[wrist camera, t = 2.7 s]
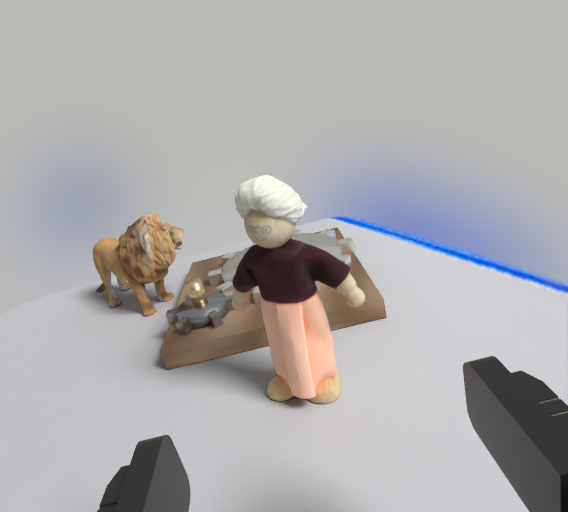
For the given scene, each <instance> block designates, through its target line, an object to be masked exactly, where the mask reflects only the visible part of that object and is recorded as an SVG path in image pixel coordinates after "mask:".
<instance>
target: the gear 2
mask: <svg viewBox="0 0 568 512" xmlns="http://www.w3.org/2000/svg"><path fill="white" fill-rule="evenodd" d="M291 239H294V240H298V241H302V242H304V243H306V244H309V245H312V246H315V247H318V248H320V249H322V250H324V251H327V252H328V253H330V254H331V255H333V256H334V257H336V258H337V259H339V260H340V261H342V262H344V263H345V264H347V265H348V266H349V267H352V263H351V258H350V255H342V254H346V253H350V252H354V251H355V247H354V242H353V240H352V238H351V237H349V238H345V239H341V240H337V239H336V235H335V230H330V229H326V230H324V231H322V232H320V233H318V234H316V233H304V234H301V230H295V231H294V234H293V236H292V237H291ZM252 242H253V241H252ZM253 245H256V244H255V243H254V242H253ZM250 247H252V246H250ZM250 247H248V248H246V249H244V250H242V251H241V252H239V253H228V254H226V255H225V256H223V257H222V262H223V265H224V266H223V267H222V269H218V270H214V271H210V272H209V274H208V278H209V281H210V284H211V286H214V285H218V284H222V283H224V284H222V285H220V286H218V287H216V288H217V289H220V290H221V292H222V293H223V294H225V296H229V295H233V283H232V280H233V278H234V275H235V273H236V270H237V267H238V265H239V262H240V261H241V259H242V257H243V256H244V255H245V253H246V252H247V251H248V249H249V248H250ZM315 284H316V286H317V289H320V285H319V281H315ZM250 296H253V297H254V301H255V304H261V294H260V291H259V288H258V286H257V287H254V288H252V289H251V295H250Z"/></svg>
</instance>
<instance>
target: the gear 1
mask: <svg viewBox="0 0 568 512" xmlns="http://www.w3.org/2000/svg"><path fill="white" fill-rule="evenodd" d="M185 284H186V287H187V290H188V293H189V295H187V296H185V300H186V301H184V302H183V303H182V304H180V305H179V306H178V308H176V309H172V310H168V311H167V313H166V317H167V319H168V322H169V324H170V326H171V325H176V327H177V330H178V333H179V335H183V336H187V335H188V334H189V333H190V332H191V331H192V330H196V329H201V328H205V327H208V326H212V327H213V328H215V329H216V328H218V327H220V326H222V325H224V324H223V321H222V319H223V318H224V317H225V316H226V315H227V314H228V312H229V311H233V310H235V309H234V308H233V306H232V300H233V298H234V296H233V295H229V296H225V294H223V293H222V292H221V290H220V289H217V288H215V289H214V290H213V291H212V292H207V293H205V290H204V287H203V284H202V281H201V279H200V278H194V279H191V280H189V281H187V282H186V283H185Z"/></svg>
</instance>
